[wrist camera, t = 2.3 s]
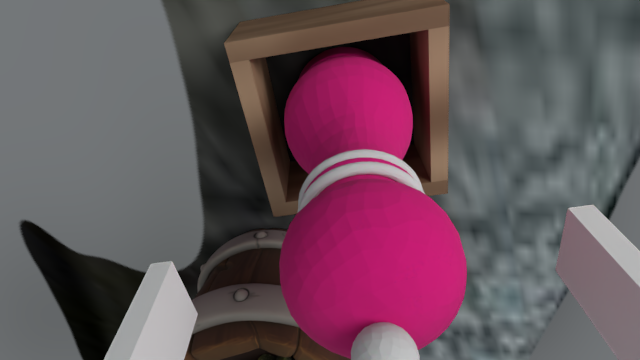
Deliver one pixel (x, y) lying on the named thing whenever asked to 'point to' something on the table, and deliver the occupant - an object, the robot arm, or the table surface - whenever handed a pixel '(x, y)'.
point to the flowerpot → (248, 306)
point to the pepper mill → (364, 217)
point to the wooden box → (334, 29)
